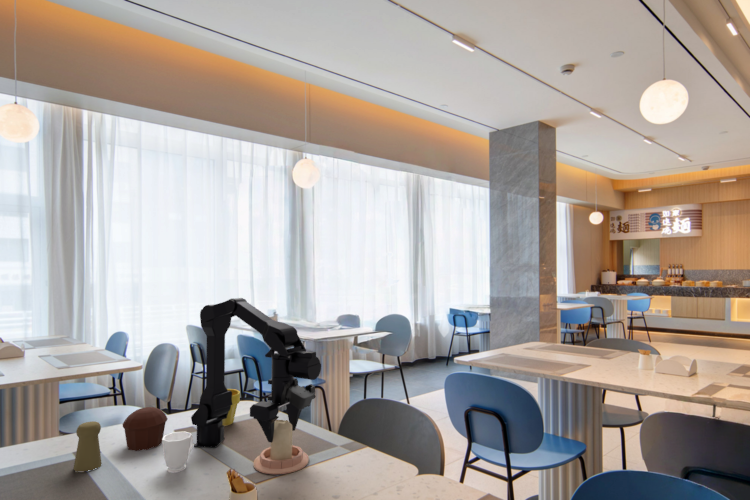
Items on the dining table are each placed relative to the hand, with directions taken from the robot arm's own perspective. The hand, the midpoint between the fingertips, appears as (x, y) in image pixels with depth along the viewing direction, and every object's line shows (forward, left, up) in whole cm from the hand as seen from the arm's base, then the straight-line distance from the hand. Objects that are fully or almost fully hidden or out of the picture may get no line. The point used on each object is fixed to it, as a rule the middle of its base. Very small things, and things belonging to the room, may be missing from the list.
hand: (282, 436), depth 116 cm
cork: (-48, -6, -7) cm, 49 cm away
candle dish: (0, 0, -7) cm, 7 cm away
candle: (0, 0, -6) cm, 6 cm away
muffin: (-42, +9, -7) cm, 44 cm away
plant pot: (-27, +28, -7) cm, 40 cm away
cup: (-25, -4, -7) cm, 26 cm away
